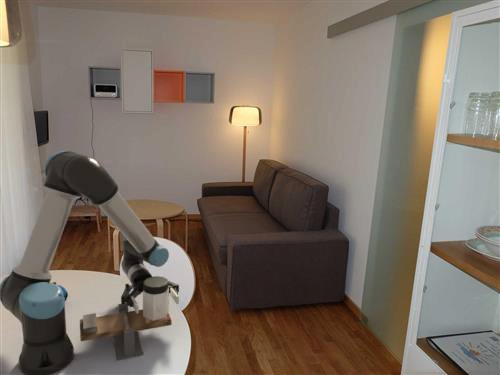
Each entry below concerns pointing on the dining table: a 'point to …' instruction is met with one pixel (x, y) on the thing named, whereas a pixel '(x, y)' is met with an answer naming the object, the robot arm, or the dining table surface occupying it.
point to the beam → (117, 324)
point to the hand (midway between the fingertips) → (158, 304)
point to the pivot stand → (127, 341)
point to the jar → (155, 298)
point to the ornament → (63, 291)
